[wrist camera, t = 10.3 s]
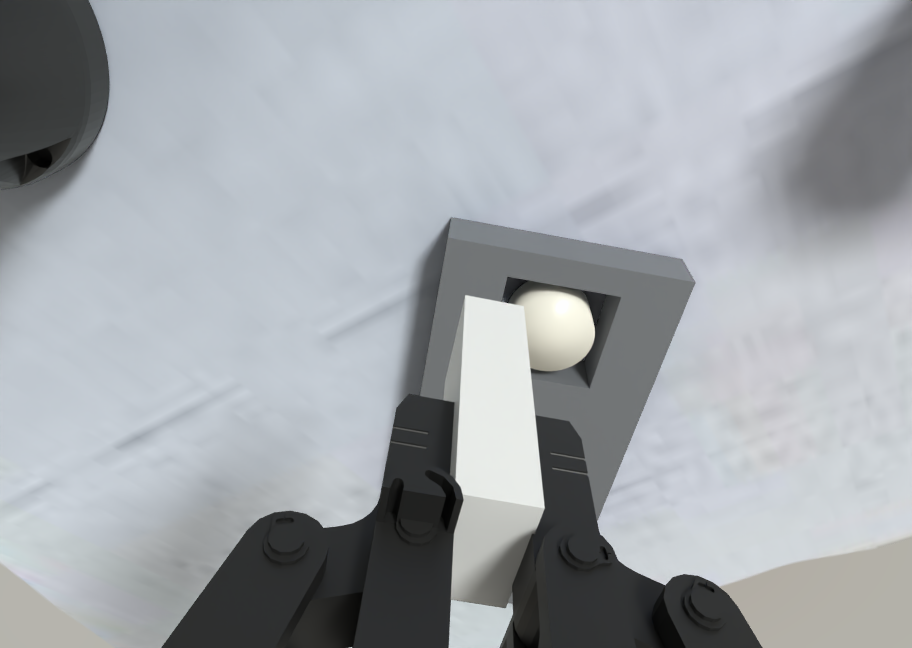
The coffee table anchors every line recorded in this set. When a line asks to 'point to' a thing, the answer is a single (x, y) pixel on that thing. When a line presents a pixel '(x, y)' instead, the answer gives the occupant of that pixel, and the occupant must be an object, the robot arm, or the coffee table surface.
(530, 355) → the button ivory
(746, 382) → the coffee table surface
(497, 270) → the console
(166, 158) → the coffee table surface
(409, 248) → the coffee table surface
